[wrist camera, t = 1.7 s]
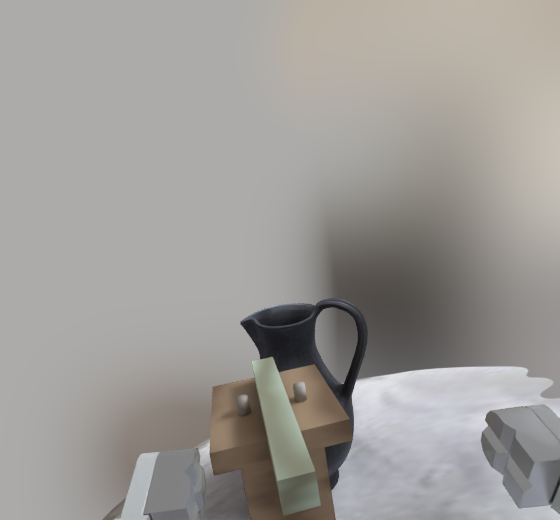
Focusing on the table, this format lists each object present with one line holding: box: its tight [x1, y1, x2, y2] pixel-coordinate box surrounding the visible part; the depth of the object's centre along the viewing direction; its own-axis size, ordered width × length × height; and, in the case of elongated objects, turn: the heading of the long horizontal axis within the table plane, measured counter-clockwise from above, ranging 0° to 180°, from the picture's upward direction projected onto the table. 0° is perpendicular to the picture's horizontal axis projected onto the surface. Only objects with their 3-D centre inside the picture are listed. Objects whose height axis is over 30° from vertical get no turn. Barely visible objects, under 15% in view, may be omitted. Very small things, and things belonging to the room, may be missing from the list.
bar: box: [252, 357, 321, 516], centre depth 32 cm, size 2×19×2 cm, turn 9°
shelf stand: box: [210, 364, 353, 520], centre depth 38 cm, size 12×12×28 cm
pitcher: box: [241, 298, 367, 491], centre depth 59 cm, size 17×21×30 cm
